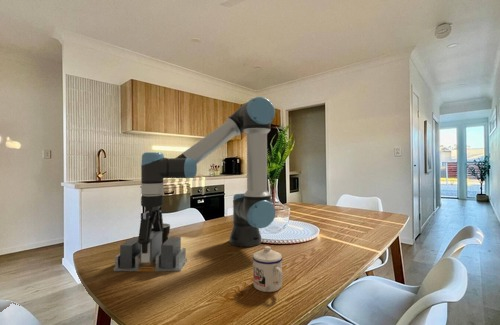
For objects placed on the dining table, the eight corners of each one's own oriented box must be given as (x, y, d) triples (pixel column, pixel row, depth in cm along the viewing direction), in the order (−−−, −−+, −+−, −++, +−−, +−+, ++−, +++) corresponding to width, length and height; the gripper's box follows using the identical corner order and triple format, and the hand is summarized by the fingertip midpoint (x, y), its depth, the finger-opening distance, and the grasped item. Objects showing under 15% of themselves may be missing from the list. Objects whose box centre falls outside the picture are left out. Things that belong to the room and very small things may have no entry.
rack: (187, 260, 95) (187, 236, 96) (179, 271, 85) (180, 245, 86) (127, 260, 95) (127, 236, 95) (112, 271, 85) (112, 245, 85)
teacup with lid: (247, 282, 78) (247, 245, 78) (271, 276, 82) (271, 240, 82) (268, 301, 67) (268, 257, 67) (294, 292, 72) (294, 252, 72)
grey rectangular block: (162, 252, 95) (162, 231, 95) (151, 262, 85) (152, 239, 85) (151, 252, 95) (151, 231, 95) (140, 262, 85) (140, 239, 85)
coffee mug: (163, 252, 104) (163, 228, 104) (144, 251, 106) (145, 227, 106) (177, 244, 115) (177, 222, 115) (160, 242, 117) (160, 221, 117)
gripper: (153, 191, 102) (153, 246, 102) (126, 199, 79) (126, 269, 79) (172, 191, 102) (171, 246, 102) (150, 199, 79) (149, 269, 79)
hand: (151, 256), depth 90 cm, fingers closed on grey rectangular block, 10 cm apart
